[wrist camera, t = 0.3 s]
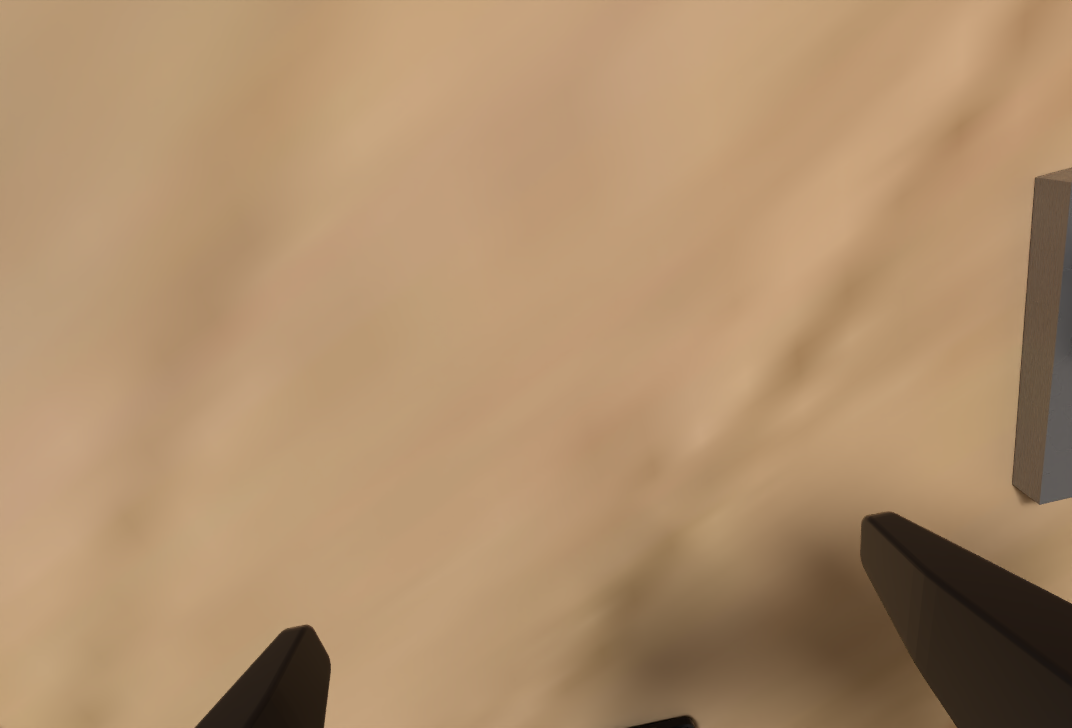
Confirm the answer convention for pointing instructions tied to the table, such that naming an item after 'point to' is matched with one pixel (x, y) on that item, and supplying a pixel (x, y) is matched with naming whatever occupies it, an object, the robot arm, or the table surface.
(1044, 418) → the stand
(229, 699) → the robot arm
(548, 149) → the table surface
